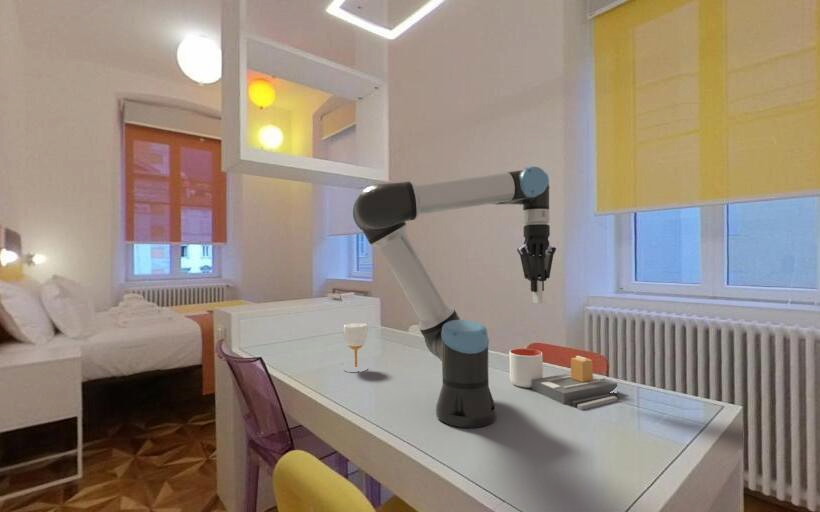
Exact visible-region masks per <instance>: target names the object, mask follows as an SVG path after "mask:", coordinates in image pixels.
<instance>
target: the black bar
mask: <svg viewBox="0 0 820 512" xmlns="http://www.w3.org/2000/svg"><path fill="white" fill-rule="evenodd" d="M611 396H615V397H617V399H619V393H618V392H617V393H614V392H613V393H608V394H603V395H598V396H593V397H588V398H583V399H578V400H573V401H571V403H570V406H571V407H573V408H577V405H578V404H582V403H586V402H590V401H594V400H598V399H602V398H606V397H611Z"/></svg>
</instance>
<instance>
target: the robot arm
mask: <svg viewBox="0 0 820 512" xmlns="http://www.w3.org/2000/svg"><path fill="white" fill-rule="evenodd" d="M550 187H551V186H550V179H549V175H548V173H547V172H546V171H544V169H542V168H540V167H538V166H530V167H525V168H523V169H521V170H514V171H508V172H499V173H492V174H485V175H479V176H478V175H477V176H469V177H462V178H455V179H448V180H441V181H433V182H426V183H419V184H415V183H413V182H412V181H410V180H409V181H401V182H400V181H399V182H388V183H378V184H377V183H376V184H373V185H370V186H368V187H365V188H364V189H363V190H362V191H361V192H360V193H359V195H358V197H357V198H356V200H355V202H354V204H353V207H352V217H353V220H354V221H353V222H354V223H355V224H356V226H357V228H359V229H360V230H361V231H362V232H363V234H364V236H365V237H366V240H367V241H368V243H369V245H370V246H371V247H376V248H378V250H379V251H380V252H381V254H382V257H383V258H384V260H385V261H386V263H387V265H388V267H389V268H390V270H391V272H392V274H393V276H394V277H395V279H396V280H397V282H398V284H399V286H400V287H401V290H402V291H403V293H404V294H405V296H406V298H407V300H408V302H409V303H410V305H411V307H412V309H413V310H414V311H415V313H416V315H417V317H418V319H419V323H418V329H419V331H420V333H421V334H422V336H423V339H424V342H425V345H426V347H427V349H428V350H429V351H430V352H431V354H432V355H434V356H435V357H436V358H438V360H440V361H441V362H442V363H441V364H442V365H441V366H442V368H441V369H442V376H441V377H442V384H441V389H440V392H439V395H438V399H437V403H436V405H435V406H436V407H435V415H437V416H436V418H437V417H438V418H439V419H440V420H441V421H443V422H445V423H448V424H450V425H449V426H451V425H454V426H453V427H455V426H460V427H459V428H463V427H469V428H468V429H472V428H473V427H474V428H475V429H476V428H483V427H486V426H489V425H491V424H493V423H494V422H495V421H496V420H497V406H496V404H495V402H494V398H493V395H492V393H491V389H490V386H489V383H490V382H489V343H490V342H489V341H490V340H489V335H488V330H487V328H486V326H485V325H483V324H482V323H480V322H478V321H472V320H468V319H461V318H460V317H459V314H457V311H456V310H455V307H453V306H450V305H447V304H446V302H445V301H444V298H443V297H442V296H441V293H440V292H439V291H438V288H437V287H436V285H435V283H434V281H433V279H432V278H431V276H430V274H429V271H428V270H427V269H426V267H425V265H424V264H423V262H422V260H421V258H420V256H419V255H418V253H417V251H416V250H415V248H414V246H413V244H412V242H411V241H410V239H409V238H408V236H407V234H406V229H407V226H408V225H407V223H406V222H410V221H414V220H417V219H418V218H419V216H422V215H428V214H434V213H441V212H446V211H453V210H454V211H455V210H459V209H466V208H473V207H478V206H484V205H485V206H486V205H497V206H498V205H518V206H522V210H523V211H522V215H523V216H522V217H523V218H522V219H523V221H522V222H523V224H524V226H523V238H524V241H523V245H522V246H520V247H517V249H516V252H517V253H518V254H519V257H520V262H521V266H522V272H523V276H524V279H526V280H528V281H529V282H530V292H532V293H531V294H532V296H531V297H532V303H535V304H543V292H544V290H545V283H544V282H546V281H547V279H550V276H551V270H552V265H553V260H554V259H553V258H554V255H555V253H556V251H557V248H556V247H555V246H552V245H550V240H549V237H550V235H551V233H550V232H551V231H550V229H551V228H550V226H551V225H549V223H550ZM438 418H437V419H438ZM439 419H438V420H439ZM440 420H439V421H440ZM441 421H440V422H441ZM443 422H442V423H443ZM445 423H444V424H445ZM448 424H447V425H448ZM471 427H472V428H471Z"/></svg>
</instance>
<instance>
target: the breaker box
mask: <svg viewBox="0 0 820 512" xmlns="http://www.w3.org/2000/svg"><path fill="white" fill-rule="evenodd" d="M567 374H568V373H564V374H563V373H562V374H557V375H552V376H546V377H543V378H539V379H533V380H532V388H531V390H533V391H535V392H537V393H538V394H540V395H543V396H545V397H546V398H547V397H548V398H549V399H552V400H553V401H556V402H558V403H560V404H562V405H567V404H571V401H573V400H578V399H583V398H588V397H593V396H598V395H603V394H608V393H610V392H611V391H613V390H614V389H615V388H616V387H617V388H618V383H617V382H615V381H612V380H609V379H606V377H603V376H600V375H597V376H598V377H597V376H596V377H593V378H594V379H593V380H592V381H587V382H580V381H578V380H575V379H572V378H571V375H567ZM593 375H595V374H593ZM605 379H606V380H605Z"/></svg>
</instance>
